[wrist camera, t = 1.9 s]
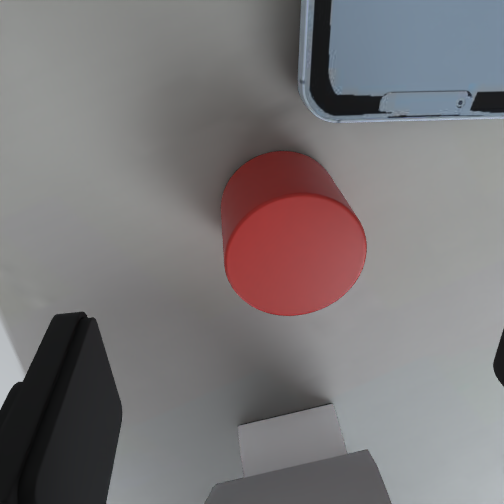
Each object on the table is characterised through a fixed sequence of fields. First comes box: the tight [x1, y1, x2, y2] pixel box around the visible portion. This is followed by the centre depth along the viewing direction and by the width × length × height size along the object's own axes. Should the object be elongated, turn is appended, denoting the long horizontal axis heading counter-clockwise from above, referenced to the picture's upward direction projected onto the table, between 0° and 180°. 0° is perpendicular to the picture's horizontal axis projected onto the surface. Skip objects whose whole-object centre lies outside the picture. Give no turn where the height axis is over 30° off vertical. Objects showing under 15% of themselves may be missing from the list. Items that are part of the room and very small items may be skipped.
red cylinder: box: [221, 151, 367, 316], centre depth 14 cm, size 4×4×4 cm
